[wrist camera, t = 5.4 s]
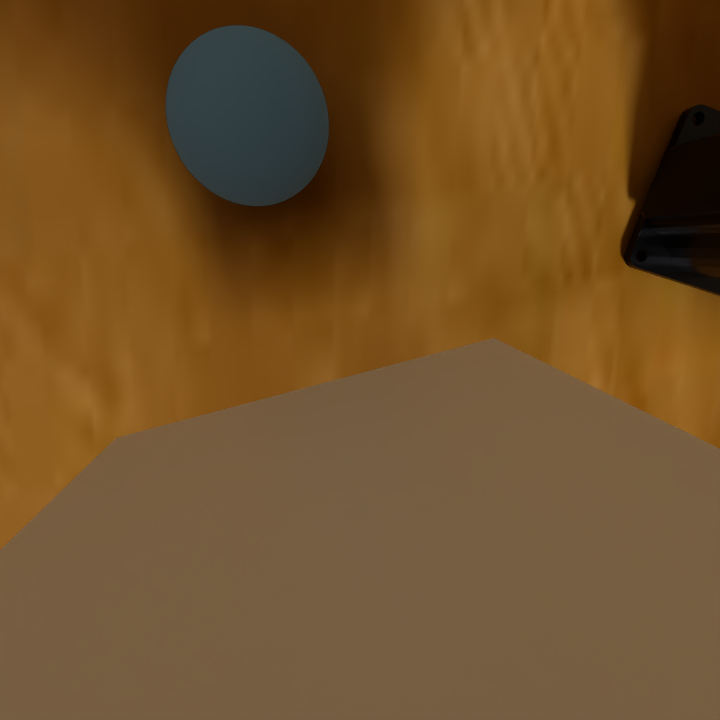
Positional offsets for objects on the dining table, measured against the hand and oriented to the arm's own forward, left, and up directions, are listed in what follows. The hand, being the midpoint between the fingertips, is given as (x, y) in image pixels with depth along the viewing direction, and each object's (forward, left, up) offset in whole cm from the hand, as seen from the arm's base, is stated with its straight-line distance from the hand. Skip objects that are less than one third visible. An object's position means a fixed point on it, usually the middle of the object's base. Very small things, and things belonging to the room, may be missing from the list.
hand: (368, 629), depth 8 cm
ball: (+5, -9, -9) cm, 14 cm away
